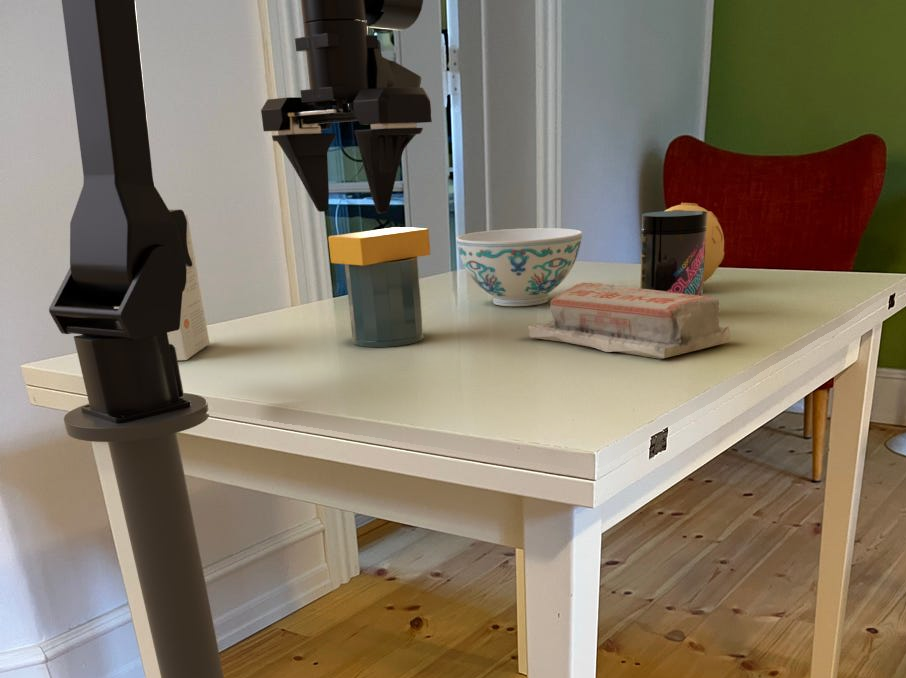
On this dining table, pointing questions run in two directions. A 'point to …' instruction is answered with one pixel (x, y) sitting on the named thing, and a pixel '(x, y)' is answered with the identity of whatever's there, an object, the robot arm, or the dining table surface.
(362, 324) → the cup
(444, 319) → the dining table surface
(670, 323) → the packaged product
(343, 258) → the orange flat block
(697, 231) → the supplement container
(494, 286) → the chinaware
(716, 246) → the stress ball
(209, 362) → the dining table surface
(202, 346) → the small box
